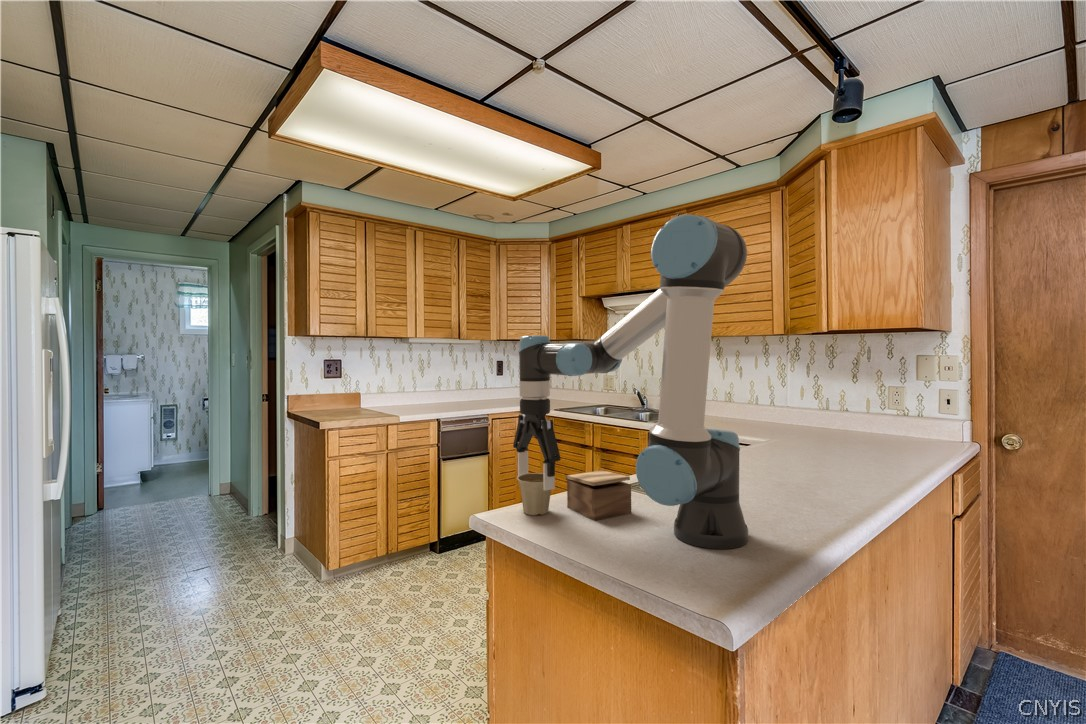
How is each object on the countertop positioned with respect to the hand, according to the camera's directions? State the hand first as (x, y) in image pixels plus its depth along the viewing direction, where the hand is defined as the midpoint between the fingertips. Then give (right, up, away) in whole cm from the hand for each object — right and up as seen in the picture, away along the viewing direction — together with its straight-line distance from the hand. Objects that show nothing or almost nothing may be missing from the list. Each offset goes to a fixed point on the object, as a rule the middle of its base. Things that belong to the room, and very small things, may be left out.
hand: (535, 483), depth 128 cm
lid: (+15, 0, +1) cm, 15 cm away
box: (+16, -7, +1) cm, 17 cm away
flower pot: (0, -7, 0) cm, 7 cm away
